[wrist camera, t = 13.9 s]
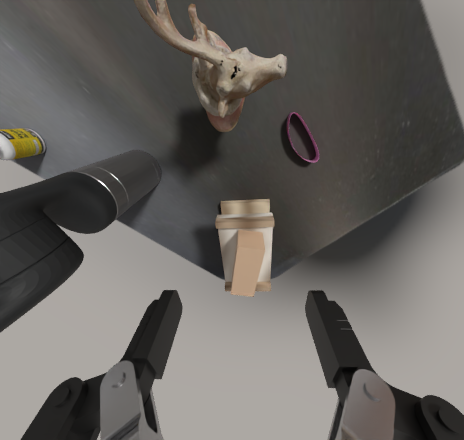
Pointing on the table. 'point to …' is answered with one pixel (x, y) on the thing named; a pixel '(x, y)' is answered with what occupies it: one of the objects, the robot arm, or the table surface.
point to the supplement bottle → (20, 143)
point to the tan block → (247, 262)
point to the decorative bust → (215, 65)
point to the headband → (309, 135)
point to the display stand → (250, 219)
